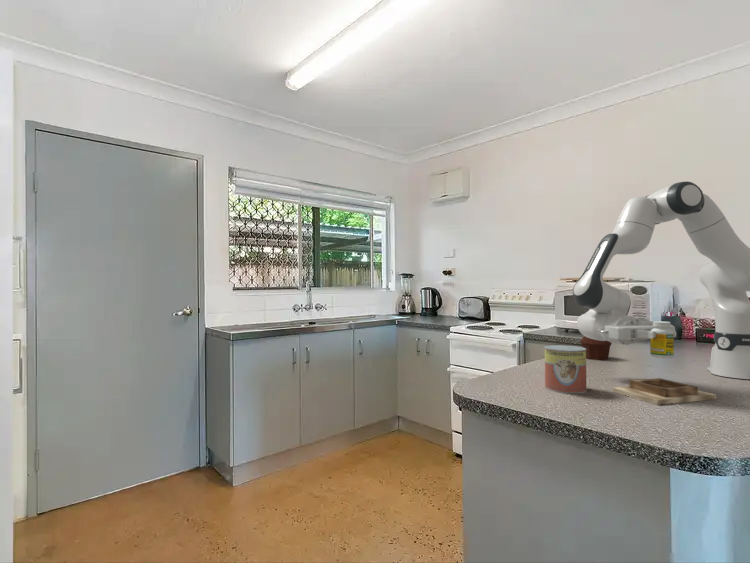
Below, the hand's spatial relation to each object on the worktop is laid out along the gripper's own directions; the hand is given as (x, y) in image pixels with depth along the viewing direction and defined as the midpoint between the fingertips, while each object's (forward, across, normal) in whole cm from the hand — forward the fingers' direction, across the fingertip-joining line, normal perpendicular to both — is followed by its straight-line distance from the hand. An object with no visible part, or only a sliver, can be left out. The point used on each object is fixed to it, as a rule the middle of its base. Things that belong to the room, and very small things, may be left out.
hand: (664, 334), depth 116 cm
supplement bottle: (-1, 0, +6) cm, 6 cm away
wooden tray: (-1, 0, +17) cm, 17 cm away
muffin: (-55, +28, +17) cm, 64 cm away
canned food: (-15, -20, +17) cm, 30 cm away
